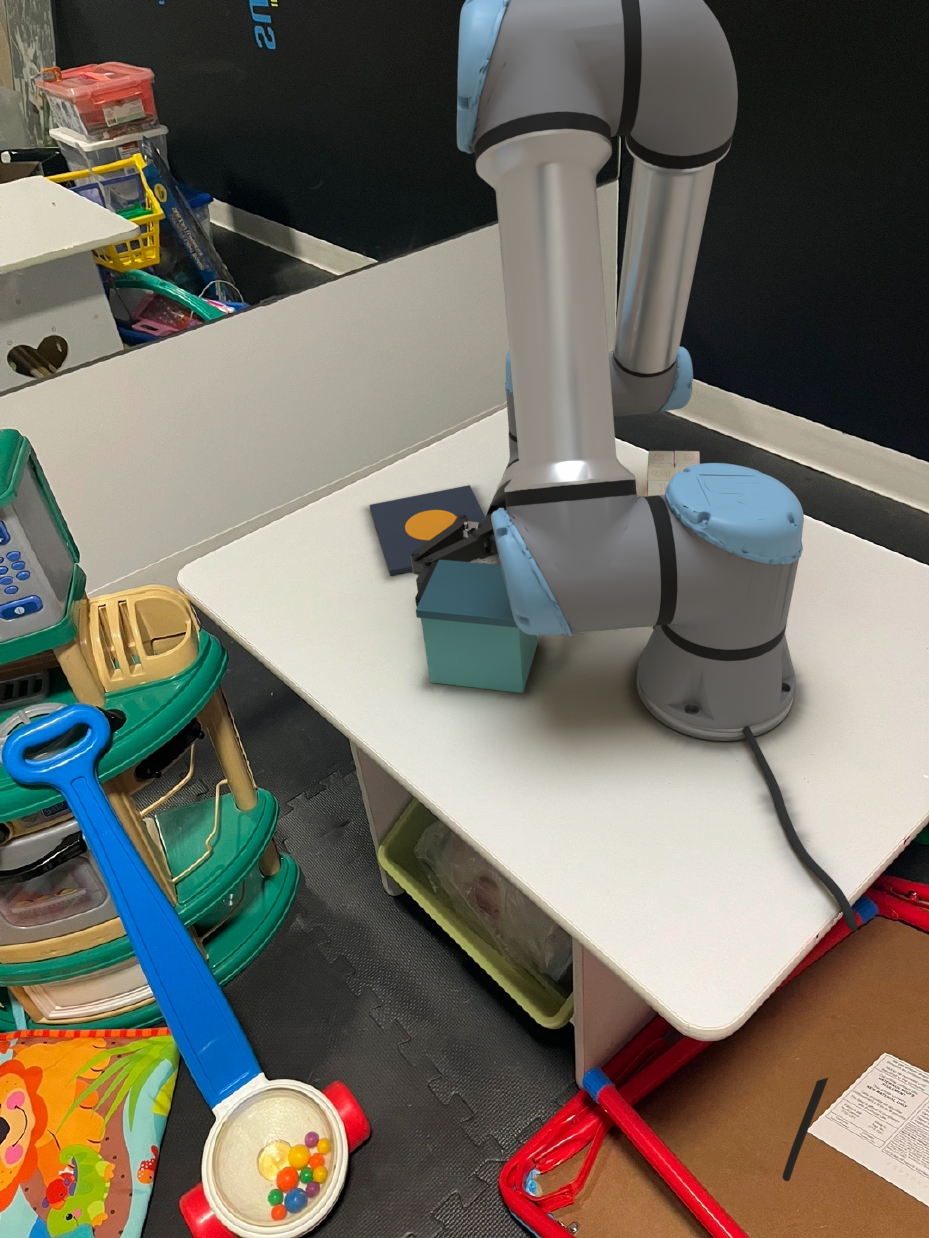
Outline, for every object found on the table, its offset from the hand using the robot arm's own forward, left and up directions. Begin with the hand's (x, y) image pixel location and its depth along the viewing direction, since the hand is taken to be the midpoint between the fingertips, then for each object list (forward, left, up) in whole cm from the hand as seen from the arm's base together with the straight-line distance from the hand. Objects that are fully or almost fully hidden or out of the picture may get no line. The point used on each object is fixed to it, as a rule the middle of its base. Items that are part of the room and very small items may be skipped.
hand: (482, 614), depth 95 cm
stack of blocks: (+9, -25, -6) cm, 27 cm away
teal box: (-1, 0, -6) cm, 6 cm away
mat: (+26, 0, -6) cm, 27 cm away
